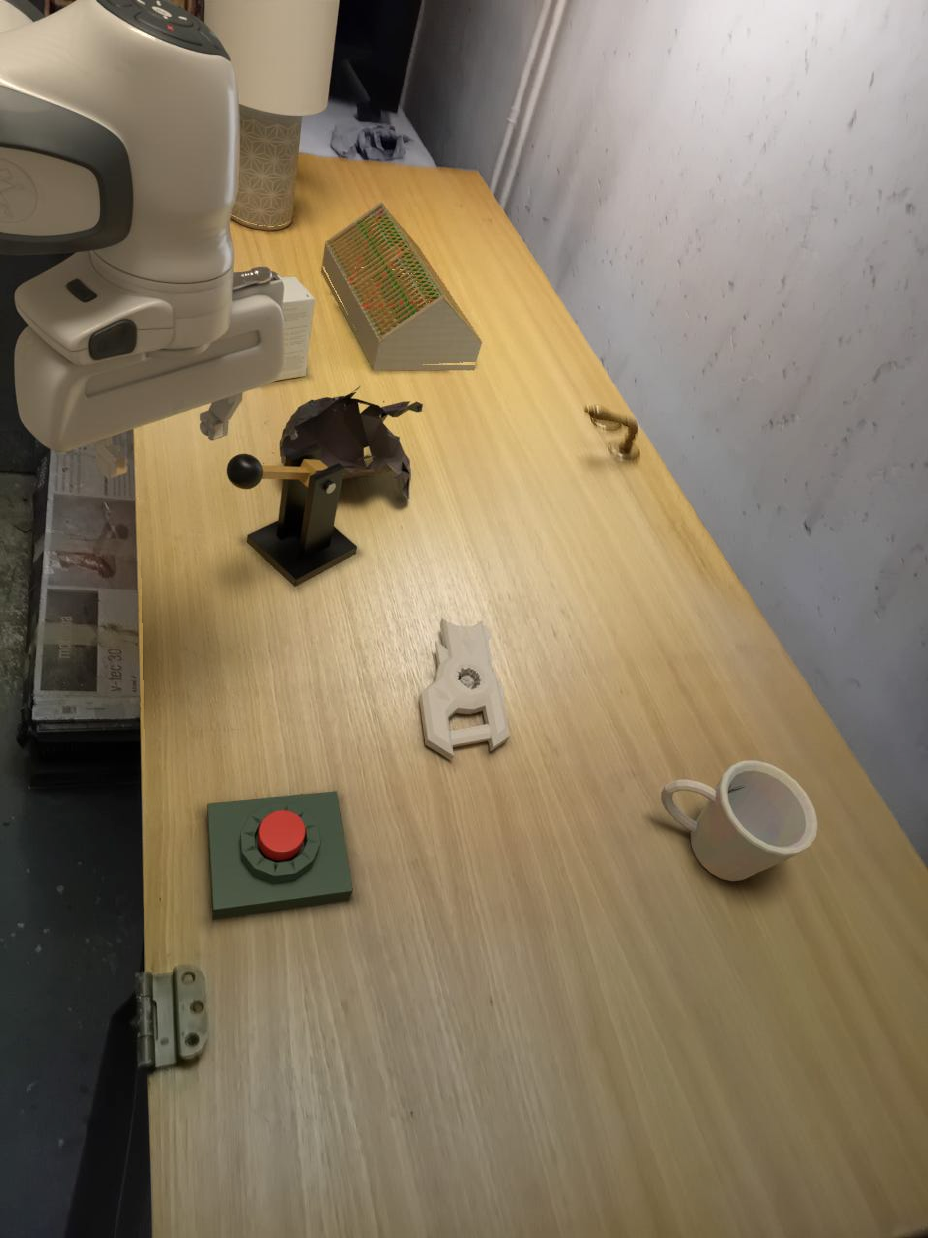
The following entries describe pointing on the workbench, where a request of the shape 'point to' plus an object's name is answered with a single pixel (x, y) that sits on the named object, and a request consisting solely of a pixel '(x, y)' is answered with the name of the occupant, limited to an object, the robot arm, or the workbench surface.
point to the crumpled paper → (350, 436)
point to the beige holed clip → (463, 691)
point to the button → (281, 835)
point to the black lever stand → (305, 523)
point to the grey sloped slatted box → (396, 298)
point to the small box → (296, 327)
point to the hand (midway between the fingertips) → (165, 452)
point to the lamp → (274, 93)
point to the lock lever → (267, 471)
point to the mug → (746, 819)
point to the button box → (272, 884)
